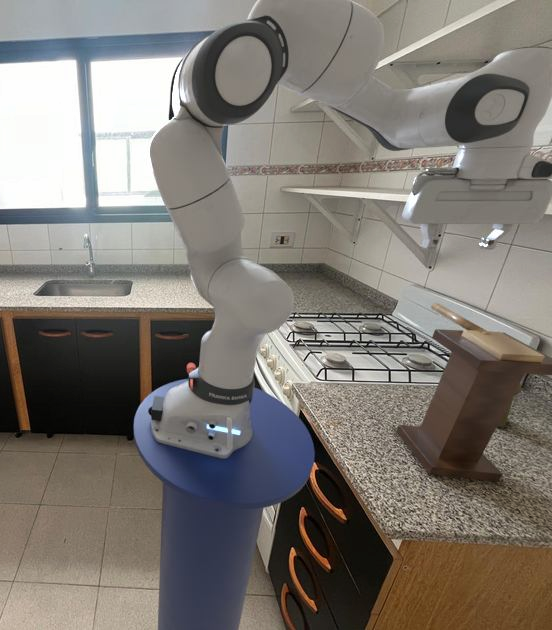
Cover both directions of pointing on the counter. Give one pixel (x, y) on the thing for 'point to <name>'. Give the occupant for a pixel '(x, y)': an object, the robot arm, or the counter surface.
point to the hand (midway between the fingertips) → (456, 248)
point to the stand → (467, 408)
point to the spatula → (491, 339)
